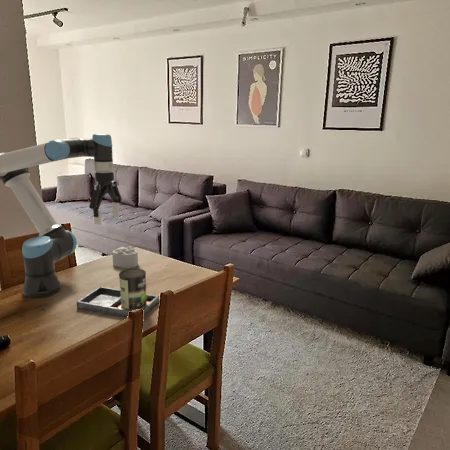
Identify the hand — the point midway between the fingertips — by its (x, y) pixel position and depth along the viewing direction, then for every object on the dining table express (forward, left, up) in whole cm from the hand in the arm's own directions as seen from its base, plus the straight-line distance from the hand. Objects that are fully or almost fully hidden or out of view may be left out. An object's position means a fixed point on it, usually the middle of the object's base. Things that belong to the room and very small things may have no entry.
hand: (107, 220), depth 168 cm
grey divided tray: (+14, -16, -31) cm, 37 cm away
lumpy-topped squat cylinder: (-8, +26, -31) cm, 42 cm away
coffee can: (+21, -16, -30) cm, 40 cm away
